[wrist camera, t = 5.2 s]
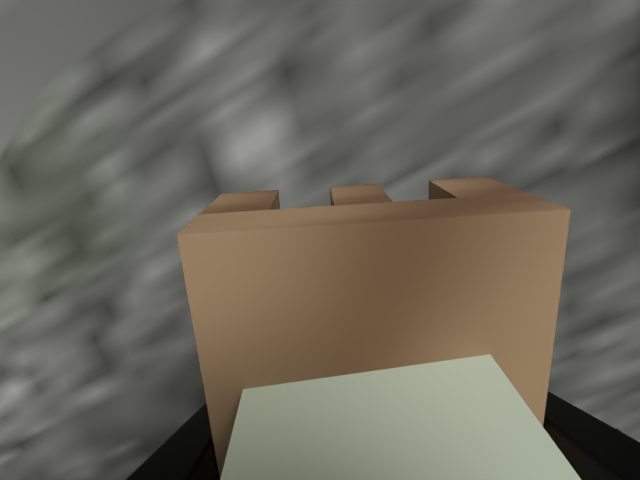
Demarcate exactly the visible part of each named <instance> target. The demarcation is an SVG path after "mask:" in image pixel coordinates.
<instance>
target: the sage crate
mask: <svg viewBox="0 0 640 480" xmlns="http://www.w3.org/2000/svg"><path fill="white" fill-rule="evenodd" d="M220 480H581V479H580V477H579V476H578V474H577V473H576V472H575V470H574V469H573V468H572V466H571V465H570V463H569V462H568V461H567V459H566V458H565V456H564V455H563V454H562V452H561V451H560V450H559V448H558V447H557V445H556V444H555V443H554V441H553V440H552V439H551V437H550V436H549V434H548V433H547V432H546V430H545V429H544V428H543V426H542V425H541V423H540V422H539V421H538V419H537V418H536V417H535V415H534V414H533V412H532V411H531V410H530V408H529V407H528V406H527V404H526V403H525V401H524V400H523V399H522V397H521V396H520V394H519V393H518V392H517V390H516V389H515V388H514V386H513V385H512V383H511V382H510V381H509V379H508V378H507V377H506V375H505V374H504V372H503V371H502V370H501V368H500V367H499V366H498V364H497V363H496V361H495V360H494V359H493V357H492V356H491V355H490V354H489V355H482V356H475V357H468V358H461V359H453V360H446V361H439V362H432V363H425V364H418V365H411V366H404V367H397V368H390V369H383V370H376V371H369V372H362V373H355V374H347V375H340V376H333V377H326V378H319V379H312V380H305V381H298V382H291V383H284V384H277V385H270V386H263V387H256V388H248V389H243V391H242V395H241V399H240V403H239V407H238V411H237V415H236V419H235V423H234V427H233V431H232V435H231V439H230V443H229V447H228V451H227V455H226V459H225V463H224V467H223V471H222V475H221V479H220Z"/></svg>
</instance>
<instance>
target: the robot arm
mask: <svg viewBox="0 0 640 480" xmlns="http://www.w3.org/2000/svg"><path fill="white" fill-rule="evenodd" d="M543 428H544V429H545V430H546V432H547V433H548V434H549V436H550V437H551V439H552V440H553V441H554V443H555V444H556V445H557V447H558V448H559V450H560V451H561V452H562V454H563V455H564V456H565V458H566V459H567V461H568V462H569V463H570V465H571V466H572V468H573V469H574V470H575V472H576V473H577V474H578V476H579V477H580V479H581V480H640V442H638V441H636V440H634V439H633V438H631V437H629V436H627V435H626V434H624V433H622V432H621V431H620V430H618V429H615V428H613V427H611V426H609V425H608V424H606V423H604V422H602V421H600V420H599V419H597V418H595V417H593V416H591V415H590V414H588V413H586V412H584V411H582V410H581V409H579V408H577V407H575V406H573V405H572V404H570V403H568V402H566V401H565V400H563V399H561V398H559V397H557V396H556V395H554V394H552V393H550V392H547V400H546V408H545V416H544V423H543ZM126 480H220V477H219V472H218V466H217V460H216V455H215V449H214V443H213V437H212V432H211V426H210V420H209V415H208V409H207V403H205V404H204V405H203V406H202V407H201V408H200V409H199V410H198V411H197V412H196V413H195V414H194V415H193V416H192V417H191V418H190V419H189V420H188V421H187V422H185V423H184V424H183V425H182V426H181V427H180V428H179V429H178V430H177V431H176V432H175V433H174V434H173V435H172V436H171V437H170V438H169V439H168V440H167V441H166V442H165V443H164V444H163V445H161V446H160V447H159V448H158V449H157V450H156V451H155V452H154V453H153V454H152V455H151V456H150V457H149V458H148V459H147V460H146V461H145V462H144V463H143V464H142V465H141V466H140V467H138V468H137V469H136V470H135V471H134V472H133V473H132V474H131V475H130V476H129V477H128V478H127V479H126Z"/></svg>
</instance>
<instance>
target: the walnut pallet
mask: <svg viewBox="0 0 640 480" xmlns="http://www.w3.org/2000/svg"><path fill="white" fill-rule="evenodd" d="M330 195H331V206H321V207H305V208H290V209H280V204H279V193H278V190H271V191H255V192H240V193H224V194H221V195H220V196H219V197H218V198H216V199H215V200H214V201H213V202H212V203H211V204H210V205H209V206H208V207H207V208H206V209H204V210H203V211H202V212H201V213H200V214H199V215H198V216H197V217H196V218H195V219H194V220H193V221H191V222H190V223H189V224H188V225H187V226H186V227H185V228H184V229H183V230H182V231H181V232H179V233H178V234H177V238H178V244H179V249H180V255H181V261H182V266H183V272H184V278H185V284H186V289H187V295H188V301H189V306H190V312H191V318H192V323H193V329H194V335H195V341H196V346H197V352H198V358H199V363H200V369H201V375H202V380H203V386H204V392H205V398H206V403H207V409H208V415H209V420H210V426H211V432H212V437H213V443H214V449H215V455H216V460H217V466H218V472H219V477H220V479H221V475H222V471H223V467H224V463H225V459H226V455H227V451H228V447H229V443H230V439H231V435H232V431H233V427H234V423H235V419H236V415H237V411H238V407H239V403H240V399H241V395H242V391H243V389H248V388H256V387H263V386H270V385H277V384H284V383H291V382H298V381H305V380H312V379H319V378H326V377H333V376H340V375H347V374H355V373H362V372H369V371H376V370H383V369H390V368H397V367H404V366H411V365H418V364H425V363H432V362H439V361H446V360H453V359H461V358H468V357H475V356H482V355H489V354H490V355H491V356H492V357H493V359H494V360H495V361H496V363H497V364H498V366H499V367H500V368H501V370H502V371H503V372H504V374H505V375H506V377H507V378H508V379H509V381H510V382H511V383H512V385H513V386H514V388H515V389H516V390H517V392H518V393H519V394H520V396H521V397H522V399H523V400H524V401H525V403H526V404H527V406H528V407H529V408H530V410H531V411H532V412H533V414H534V415H535V417H536V418H537V419H538V421H539V422H540V423H541V425H542V426H543V423H544V416H545V408H546V400H547V392H548V384H549V376H550V369H551V361H552V353H553V345H554V337H555V329H556V322H557V314H558V306H559V298H560V290H561V282H562V275H563V267H564V259H565V251H566V243H567V235H568V228H569V220H570V212H571V210H570V209H568V208H565V207H563V206H560V205H557V204H555V203H552V202H550V201H547V200H545V199H542V198H539V197H537V196H534V195H532V194H529V193H526V192H524V191H521V190H519V189H516V188H514V187H511V186H508V185H506V184H503V183H501V182H498V181H495V180H493V179H490V178H488V177H474V178H458V179H443V180H429V200H415V201H399V202H393V201H392V200H391V199H390V198H389V197H388V196H387V194H386V193H385V192H384V191H383V190H382V189H381V188H380V186H379V185H378V184H365V185H349V186H333V187H330Z"/></svg>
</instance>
